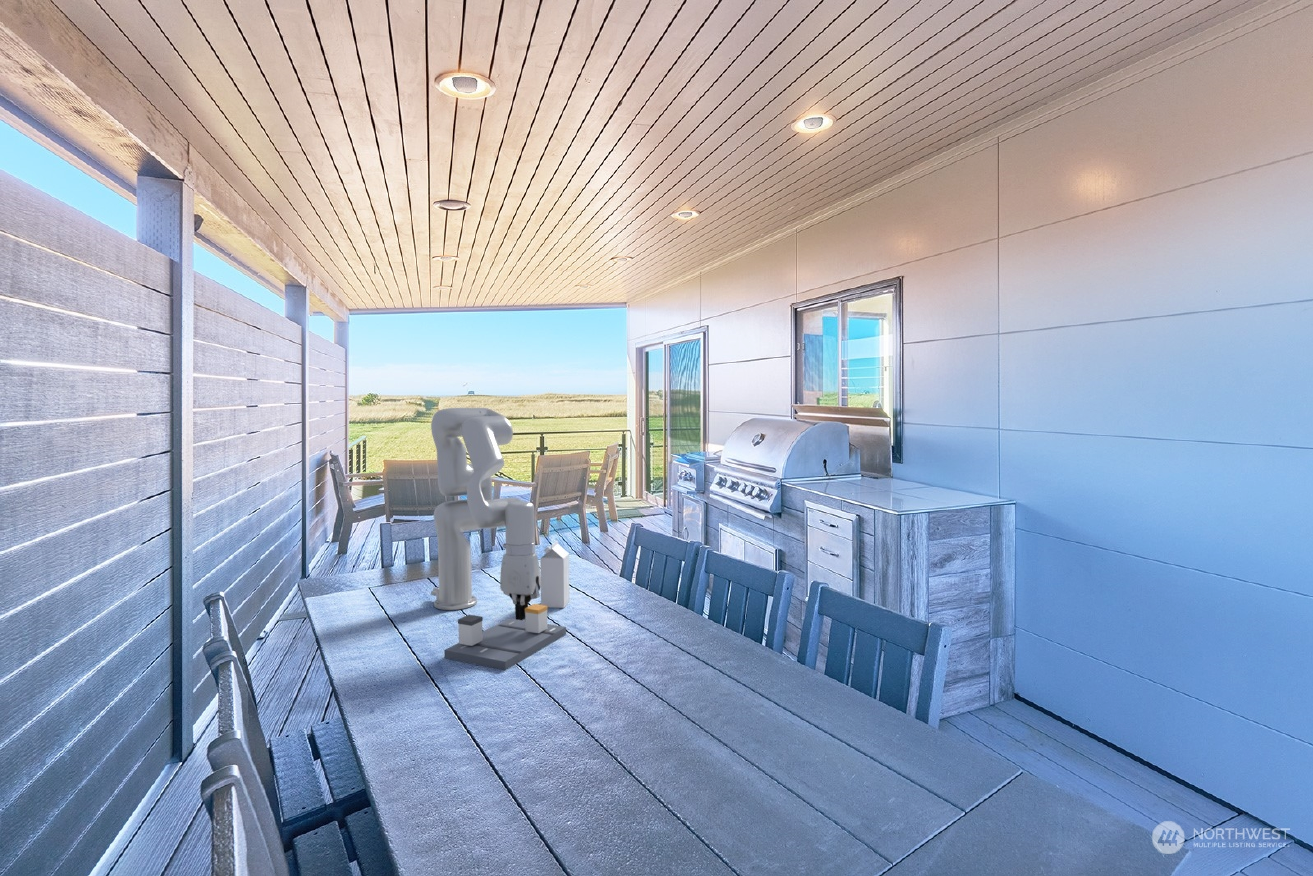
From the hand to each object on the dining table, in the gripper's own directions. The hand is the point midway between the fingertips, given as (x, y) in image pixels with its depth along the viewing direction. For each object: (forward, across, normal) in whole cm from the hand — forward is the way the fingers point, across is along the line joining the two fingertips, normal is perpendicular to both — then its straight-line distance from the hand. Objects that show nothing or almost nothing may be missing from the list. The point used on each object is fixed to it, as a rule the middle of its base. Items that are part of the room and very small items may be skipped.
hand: (521, 618), depth 178 cm
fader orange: (+2, +5, 0) cm, 5 cm away
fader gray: (+3, -5, -14) cm, 15 cm away
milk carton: (+5, -7, +27) cm, 29 cm away
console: (+5, +1, -7) cm, 8 cm away
